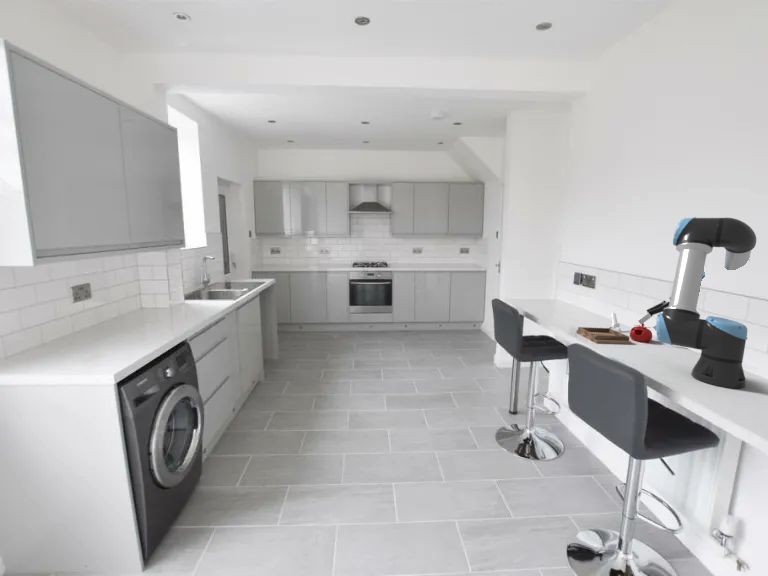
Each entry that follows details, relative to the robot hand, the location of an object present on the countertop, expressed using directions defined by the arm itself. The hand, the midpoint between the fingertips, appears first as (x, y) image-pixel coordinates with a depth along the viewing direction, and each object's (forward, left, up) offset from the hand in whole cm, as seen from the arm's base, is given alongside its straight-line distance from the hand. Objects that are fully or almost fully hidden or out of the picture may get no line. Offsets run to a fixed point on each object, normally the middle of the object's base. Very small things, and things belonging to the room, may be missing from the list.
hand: (646, 325), depth 195 cm
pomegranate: (-1, +2, -8) cm, 9 cm away
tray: (-6, +20, -8) cm, 23 cm away
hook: (+16, +11, -8) cm, 21 cm away
